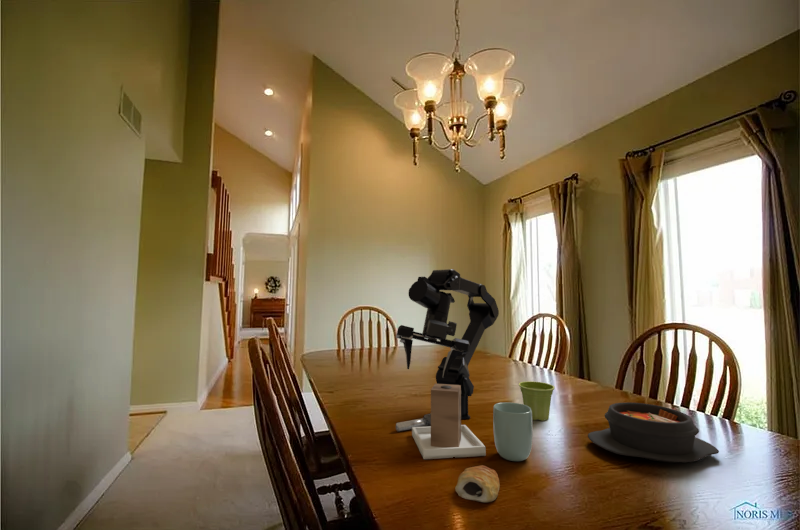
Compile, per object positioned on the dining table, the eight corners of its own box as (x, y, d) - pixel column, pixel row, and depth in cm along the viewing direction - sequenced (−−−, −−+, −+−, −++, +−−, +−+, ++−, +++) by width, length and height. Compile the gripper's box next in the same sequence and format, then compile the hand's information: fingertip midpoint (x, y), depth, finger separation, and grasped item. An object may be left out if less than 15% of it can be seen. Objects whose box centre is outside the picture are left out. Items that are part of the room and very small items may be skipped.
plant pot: (562, 419, 100) (561, 386, 101) (541, 425, 95) (540, 391, 95) (533, 410, 108) (532, 379, 108) (512, 415, 102) (511, 384, 103)
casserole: (671, 434, 89) (669, 399, 90) (748, 471, 71) (744, 426, 71) (571, 435, 88) (570, 400, 89) (622, 473, 69) (620, 427, 70)
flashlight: (431, 423, 96) (430, 411, 96) (437, 426, 94) (436, 414, 94) (394, 429, 91) (394, 418, 91) (400, 433, 88) (400, 421, 89)
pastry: (470, 473, 69) (470, 452, 69) (506, 483, 66) (506, 461, 66) (453, 497, 61) (453, 473, 61) (493, 509, 58) (493, 484, 58)
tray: (465, 432, 89) (465, 424, 90) (485, 455, 76) (485, 446, 77) (412, 435, 87) (412, 427, 88) (423, 459, 74) (423, 450, 75)
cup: (536, 467, 71) (534, 414, 72) (494, 463, 73) (493, 411, 74) (530, 451, 79) (529, 403, 80) (492, 448, 80) (492, 401, 81)
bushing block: (435, 436, 86) (435, 382, 87) (461, 438, 84) (460, 384, 85) (430, 446, 80) (430, 388, 81) (458, 449, 78) (458, 390, 79)
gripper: (405, 298, 90) (391, 362, 85) (479, 316, 90) (469, 381, 85) (402, 308, 100) (389, 365, 95) (468, 323, 100) (459, 382, 95)
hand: (425, 373), depth 92 cm, fingers open, 9 cm apart
